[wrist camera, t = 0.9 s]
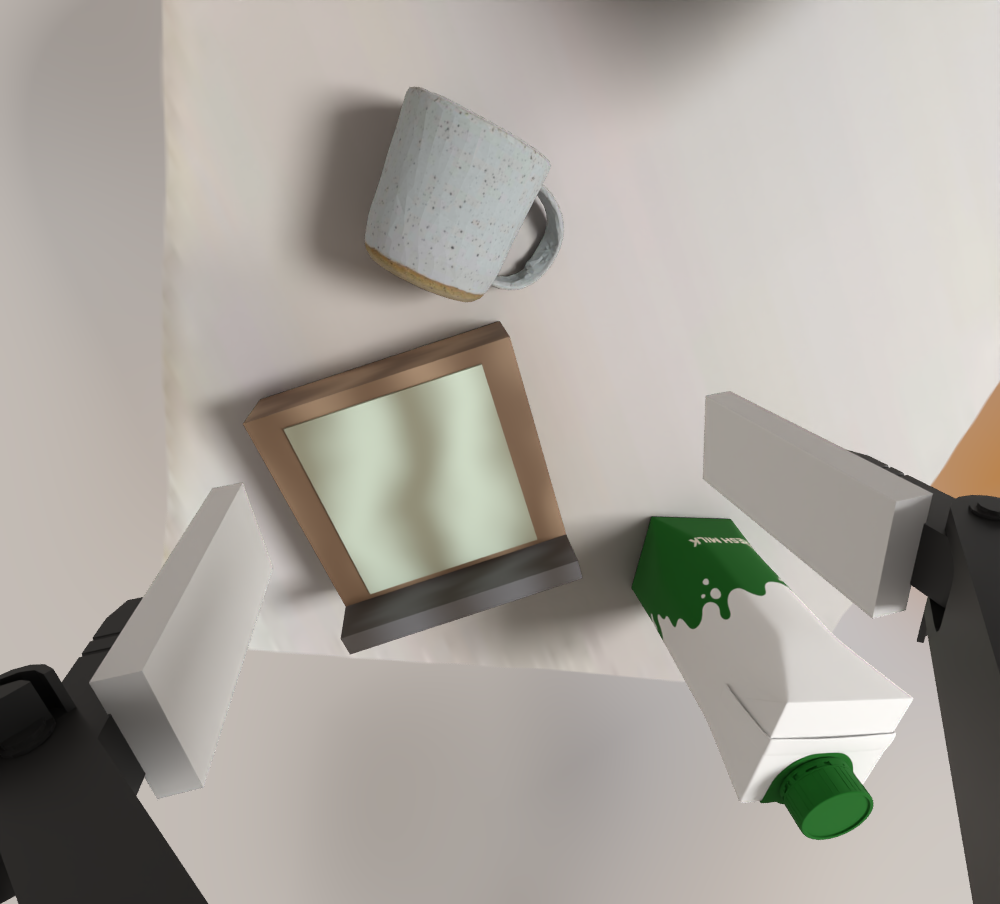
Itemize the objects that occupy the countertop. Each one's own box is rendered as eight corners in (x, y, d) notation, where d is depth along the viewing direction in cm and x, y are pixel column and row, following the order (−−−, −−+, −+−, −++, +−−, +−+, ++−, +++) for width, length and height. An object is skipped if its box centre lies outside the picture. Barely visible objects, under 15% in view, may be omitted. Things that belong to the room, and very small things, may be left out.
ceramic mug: (360, 245, 32) (349, 263, 25) (408, 93, 29) (411, 67, 22) (523, 314, 35) (552, 346, 28) (580, 184, 32) (628, 185, 26)
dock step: (499, 321, 35) (518, 350, 29) (557, 520, 42) (582, 578, 36) (260, 399, 35) (227, 446, 29) (359, 585, 42) (350, 654, 36)
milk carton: (618, 596, 46) (747, 851, 29) (643, 504, 43) (809, 731, 25) (713, 596, 48) (890, 838, 30) (745, 507, 44) (969, 724, 26)
